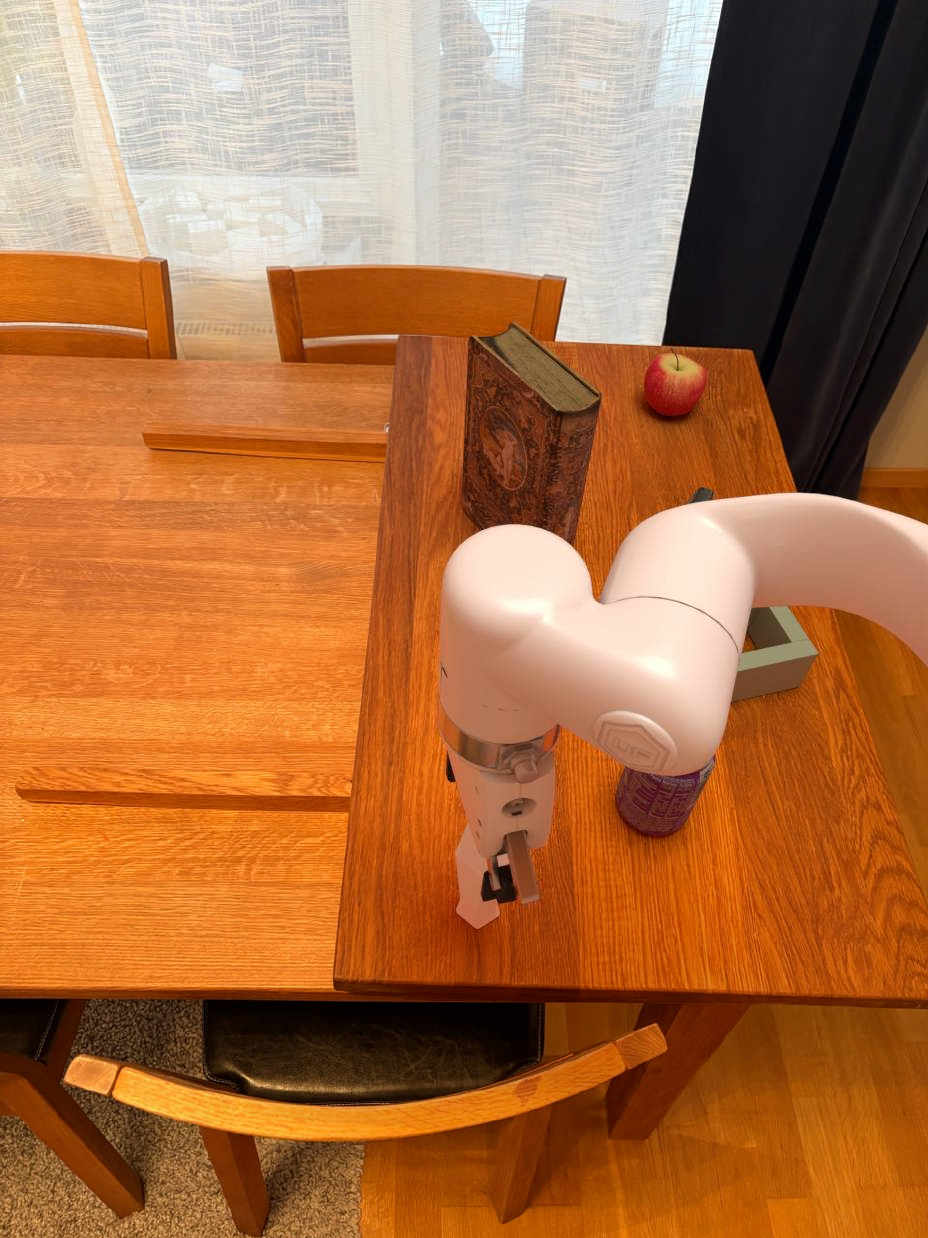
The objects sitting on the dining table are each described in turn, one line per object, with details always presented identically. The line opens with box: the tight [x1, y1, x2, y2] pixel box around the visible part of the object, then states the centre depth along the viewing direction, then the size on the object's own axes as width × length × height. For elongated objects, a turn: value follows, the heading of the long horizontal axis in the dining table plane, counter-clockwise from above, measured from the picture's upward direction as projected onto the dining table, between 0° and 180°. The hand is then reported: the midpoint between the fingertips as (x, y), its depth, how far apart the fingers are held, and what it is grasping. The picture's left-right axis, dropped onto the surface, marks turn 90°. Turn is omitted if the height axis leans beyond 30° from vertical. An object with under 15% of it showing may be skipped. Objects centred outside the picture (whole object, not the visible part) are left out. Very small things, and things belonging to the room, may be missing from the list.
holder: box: [731, 606, 820, 703], centre depth 92 cm, size 10×10×6 cm
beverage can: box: [615, 753, 716, 836], centre depth 78 cm, size 7×7×12 cm
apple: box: [643, 347, 708, 417], centre depth 118 cm, size 8×8×10 cm
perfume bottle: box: [454, 823, 509, 930], centre depth 70 cm, size 5×4×15 cm
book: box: [461, 320, 603, 548], centre depth 95 cm, size 16×6×25 cm, turn 33°
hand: (483, 831), depth 64 cm, fingers open, 9 cm apart
